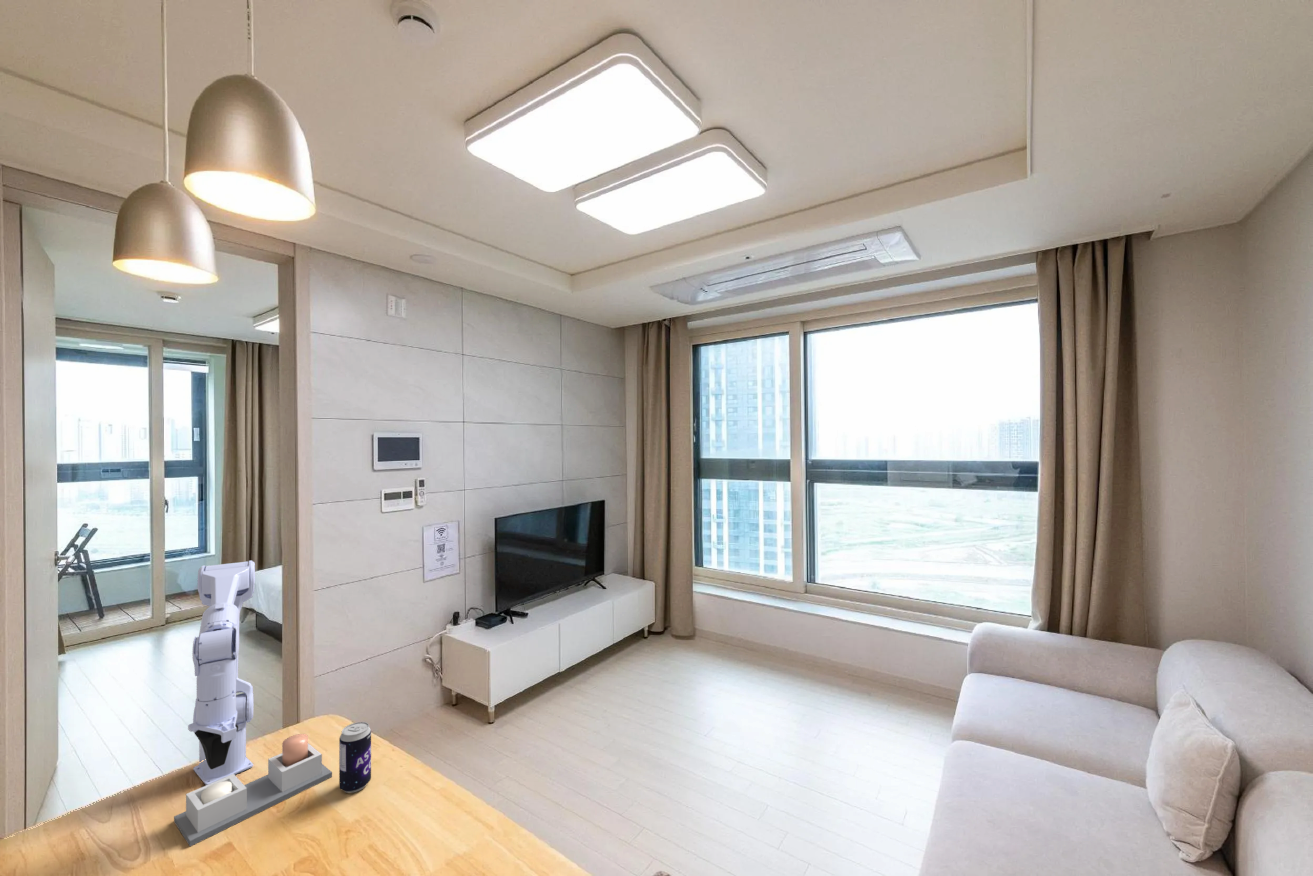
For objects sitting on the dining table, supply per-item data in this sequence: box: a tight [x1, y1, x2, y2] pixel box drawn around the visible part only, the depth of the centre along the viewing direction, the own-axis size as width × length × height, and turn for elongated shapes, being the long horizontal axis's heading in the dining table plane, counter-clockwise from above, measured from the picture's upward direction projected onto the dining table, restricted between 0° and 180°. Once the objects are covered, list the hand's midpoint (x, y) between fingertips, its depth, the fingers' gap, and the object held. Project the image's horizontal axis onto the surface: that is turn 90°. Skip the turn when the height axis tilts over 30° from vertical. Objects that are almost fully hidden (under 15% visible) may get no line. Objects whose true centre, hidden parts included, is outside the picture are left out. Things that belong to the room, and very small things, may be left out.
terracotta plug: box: [281, 733, 309, 767], centre depth 109 cm, size 4×4×4 cm
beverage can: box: [338, 721, 372, 794], centre depth 107 cm, size 6×6×12 cm
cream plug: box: [201, 781, 232, 805], centre depth 98 cm, size 4×4×4 cm
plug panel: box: [173, 742, 333, 847], centre depth 104 cm, size 10×23×5 cm, turn 145°
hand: (216, 765), depth 98 cm, fingers closed
